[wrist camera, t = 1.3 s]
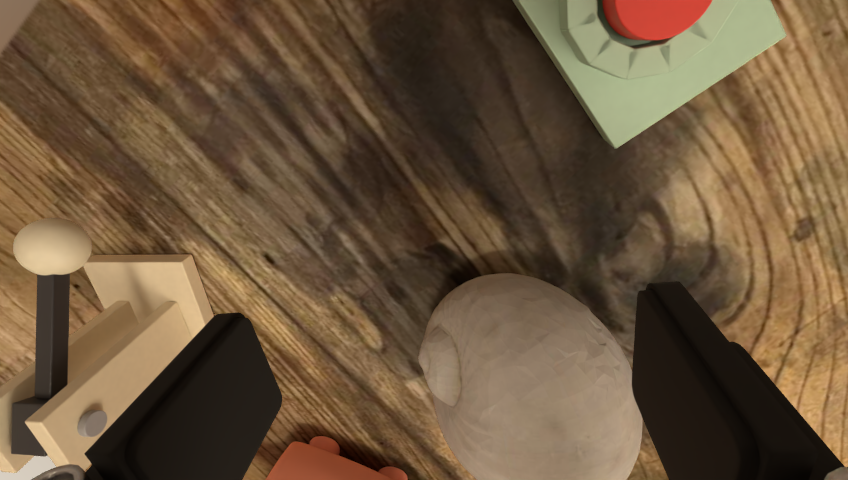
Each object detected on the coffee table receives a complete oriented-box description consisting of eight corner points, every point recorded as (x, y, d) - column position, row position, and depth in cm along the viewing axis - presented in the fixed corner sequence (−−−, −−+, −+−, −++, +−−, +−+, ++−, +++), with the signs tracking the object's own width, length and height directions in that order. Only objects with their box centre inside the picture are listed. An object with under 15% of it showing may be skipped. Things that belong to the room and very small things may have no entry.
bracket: (94, 254, 31) (-107, 368, 20) (191, 253, 29) (33, 374, 19) (148, 366, 35) (8, 505, 25) (233, 369, 34) (125, 516, 24)
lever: (59, 220, 26) (-4, 215, 22) (107, 219, 25) (49, 214, 22) (54, 431, 25) (-10, 458, 22) (103, 434, 25) (44, 462, 22)
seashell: (551, 225, 33) (440, 240, 21) (726, 352, 26) (706, 477, 14) (462, 354, 39) (339, 420, 27) (584, 481, 33) (492, 640, 21)
